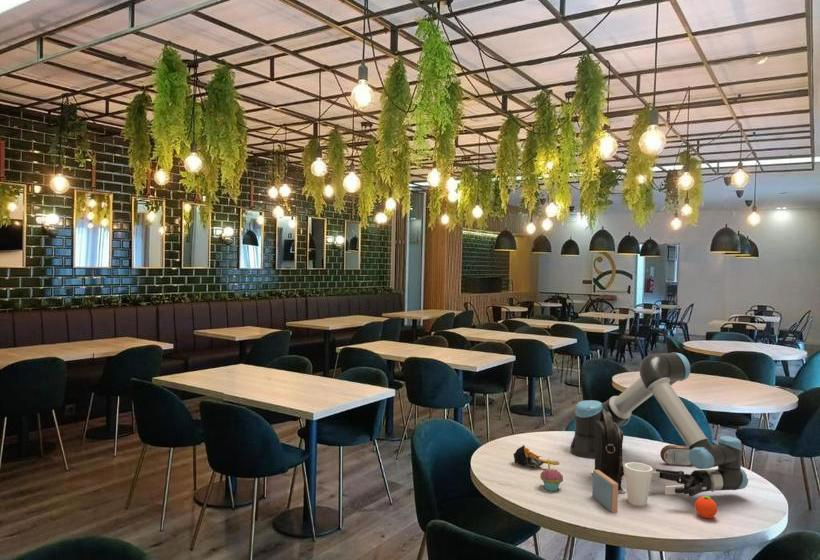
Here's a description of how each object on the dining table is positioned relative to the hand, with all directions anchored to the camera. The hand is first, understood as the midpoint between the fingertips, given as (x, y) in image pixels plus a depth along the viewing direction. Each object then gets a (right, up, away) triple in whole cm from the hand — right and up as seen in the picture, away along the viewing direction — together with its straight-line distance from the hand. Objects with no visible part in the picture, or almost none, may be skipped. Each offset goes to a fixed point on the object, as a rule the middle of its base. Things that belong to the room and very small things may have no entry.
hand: (654, 483), depth 209 cm
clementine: (+13, -8, -12) cm, 19 cm away
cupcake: (-35, -6, +10) cm, 37 cm away
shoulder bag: (-11, -6, +19) cm, 23 cm away
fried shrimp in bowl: (-36, -5, +34) cm, 50 cm away
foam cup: (-6, -7, -1) cm, 10 cm away
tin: (+28, -7, +41) cm, 50 cm away
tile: (-19, -7, -3) cm, 21 cm away
